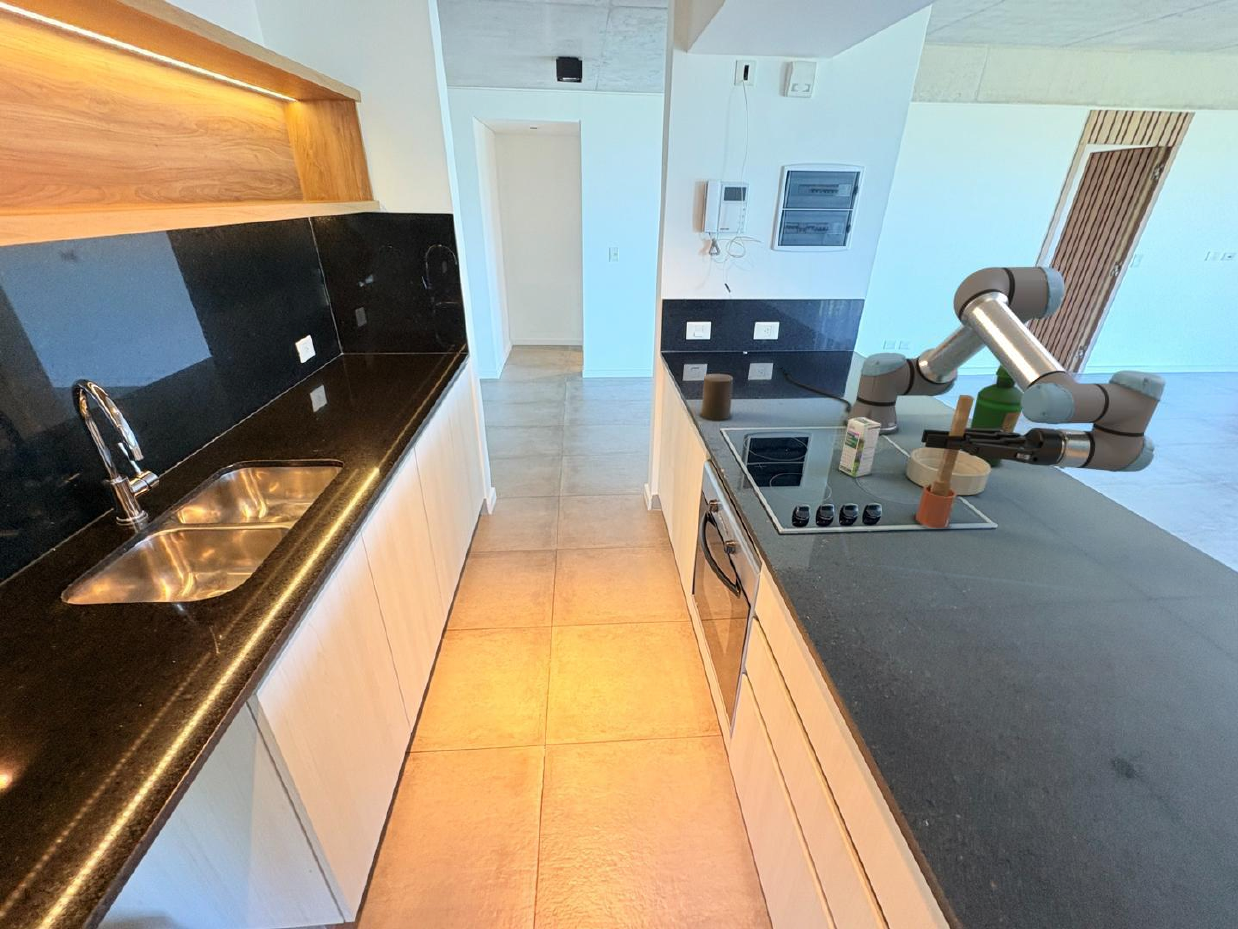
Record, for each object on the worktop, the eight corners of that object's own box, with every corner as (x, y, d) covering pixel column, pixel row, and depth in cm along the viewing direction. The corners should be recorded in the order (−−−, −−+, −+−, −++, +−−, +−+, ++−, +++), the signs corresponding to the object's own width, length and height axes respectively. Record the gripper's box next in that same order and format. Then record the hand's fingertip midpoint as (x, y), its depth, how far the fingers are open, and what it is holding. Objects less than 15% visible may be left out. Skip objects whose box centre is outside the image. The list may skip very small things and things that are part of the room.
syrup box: (837, 469, 143) (847, 419, 137) (854, 465, 145) (864, 415, 139) (854, 478, 138) (864, 426, 132) (870, 474, 140) (882, 422, 134)
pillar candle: (717, 422, 176) (721, 378, 170) (695, 415, 183) (698, 373, 176) (735, 416, 182) (739, 373, 175) (713, 409, 188) (716, 368, 182)
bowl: (890, 470, 142) (895, 450, 140) (947, 464, 145) (952, 444, 143) (939, 501, 127) (945, 478, 124) (1001, 494, 130) (1008, 472, 127)
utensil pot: (908, 517, 120) (917, 485, 116) (933, 514, 121) (941, 483, 118) (928, 531, 114) (937, 499, 111) (953, 528, 115) (963, 496, 112)
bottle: (1011, 470, 142) (1046, 368, 130) (967, 467, 144) (998, 366, 132) (994, 455, 151) (1025, 358, 140) (953, 452, 153) (980, 356, 142)
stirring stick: (929, 503, 115) (959, 397, 105) (926, 498, 117) (955, 394, 106) (946, 504, 114) (978, 398, 104) (943, 500, 116) (974, 395, 106)
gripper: (1066, 480, 101) (931, 469, 105) (1028, 450, 114) (910, 441, 119) (1080, 444, 98) (941, 434, 102) (1040, 417, 111) (918, 409, 115)
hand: (925, 438), depth 110 cm, fingers closed on stirring stick, 2 cm apart
